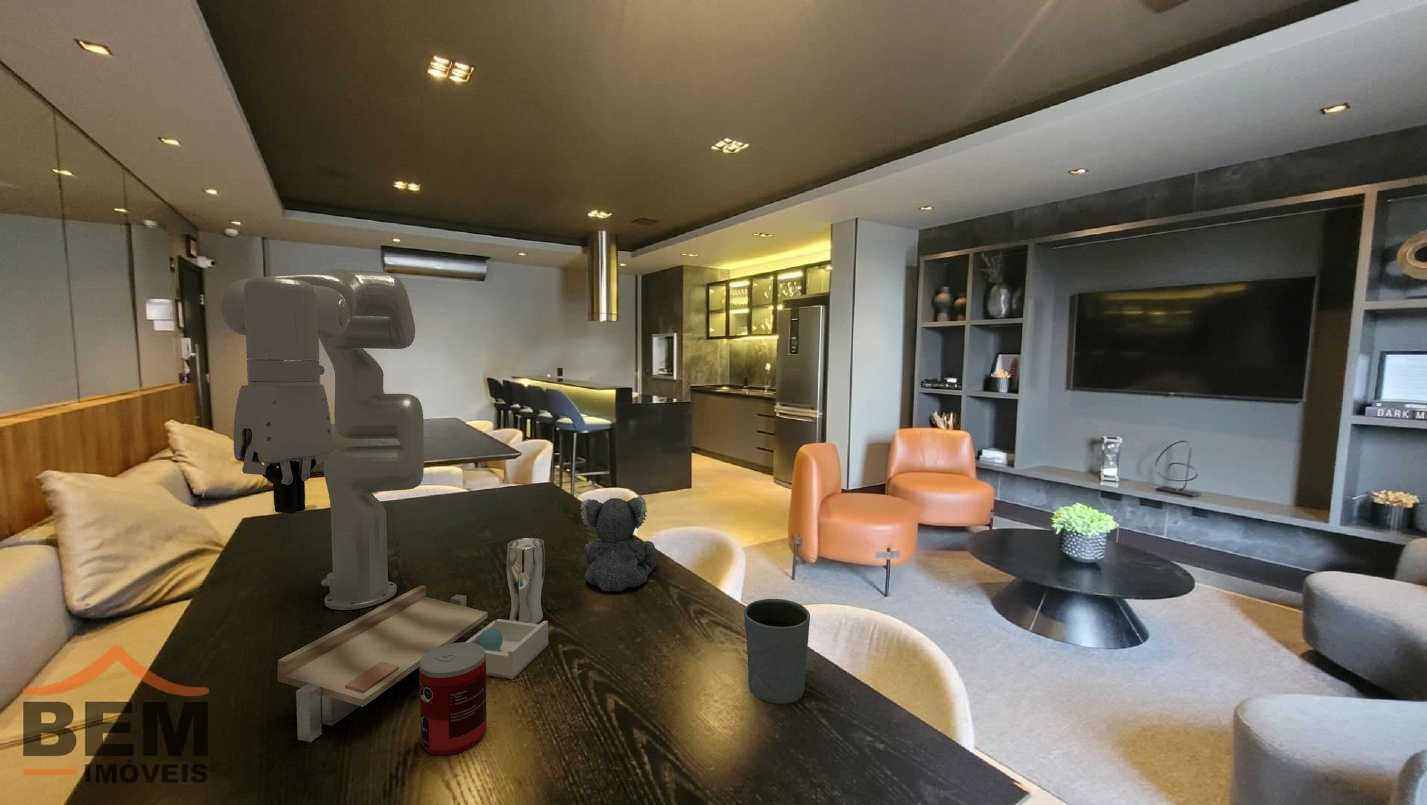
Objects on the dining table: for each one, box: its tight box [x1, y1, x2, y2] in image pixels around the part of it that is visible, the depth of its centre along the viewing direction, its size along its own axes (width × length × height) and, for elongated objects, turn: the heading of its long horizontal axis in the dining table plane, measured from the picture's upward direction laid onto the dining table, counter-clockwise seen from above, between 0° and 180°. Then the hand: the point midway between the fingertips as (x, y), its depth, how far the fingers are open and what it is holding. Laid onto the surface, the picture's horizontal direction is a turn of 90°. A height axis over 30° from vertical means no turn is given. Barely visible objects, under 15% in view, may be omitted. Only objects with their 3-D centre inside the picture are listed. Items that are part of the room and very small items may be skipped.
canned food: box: [418, 641, 488, 756], centre depth 72 cm, size 8×8×11 cm
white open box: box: [465, 618, 549, 680], centre depth 92 cm, size 11×11×4 cm
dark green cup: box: [743, 598, 811, 705], centre depth 84 cm, size 10×10×12 cm
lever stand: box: [295, 594, 467, 743], centre depth 86 cm, size 31×2×7 cm, turn 167°
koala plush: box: [579, 495, 658, 593], centre depth 125 cm, size 17×18×20 cm
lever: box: [276, 584, 489, 708], centre depth 85 cm, size 26×14×4 cm, turn 167°
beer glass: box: [505, 537, 546, 624], centre depth 105 cm, size 7×7×15 cm
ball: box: [477, 629, 503, 651], centre depth 92 cm, size 4×4×4 cm
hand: (290, 511), depth 73 cm, fingers closed
